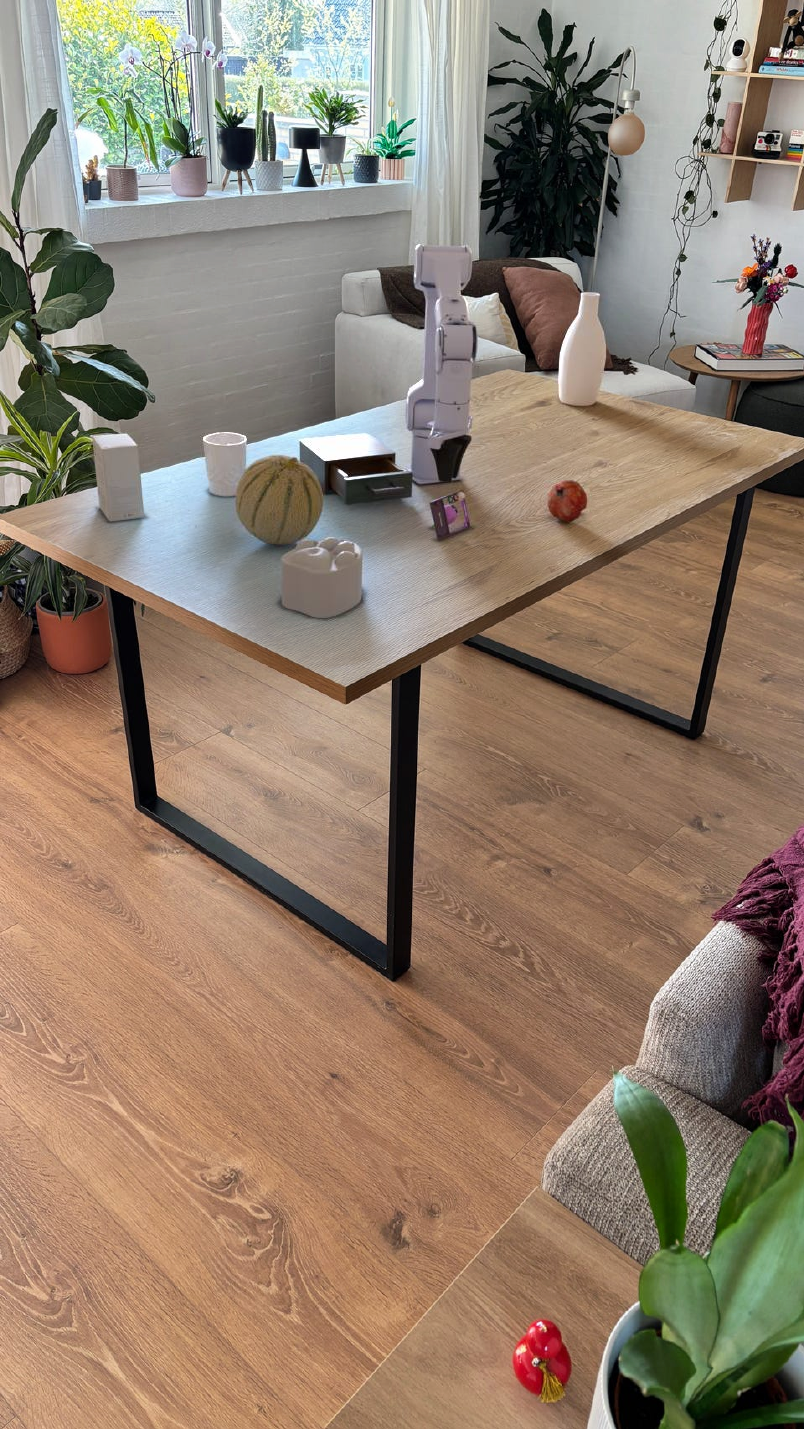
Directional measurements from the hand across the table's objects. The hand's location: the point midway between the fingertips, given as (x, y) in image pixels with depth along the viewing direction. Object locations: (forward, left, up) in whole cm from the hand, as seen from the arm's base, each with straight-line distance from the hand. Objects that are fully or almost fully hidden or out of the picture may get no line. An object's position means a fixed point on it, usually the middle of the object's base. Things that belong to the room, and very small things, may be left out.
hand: (447, 479), depth 188 cm
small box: (+51, -27, -10) cm, 58 cm away
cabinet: (+6, -31, -9) cm, 33 cm away
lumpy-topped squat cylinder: (+30, +19, -10) cm, 37 cm away
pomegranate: (-24, +2, -10) cm, 26 cm away
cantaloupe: (+29, -5, -10) cm, 31 cm away
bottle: (-71, -67, -10) cm, 98 cm away
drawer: (+6, -19, -8) cm, 22 cm away
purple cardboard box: (0, 0, -10) cm, 10 cm away
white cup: (+30, -32, -10) cm, 45 cm away
